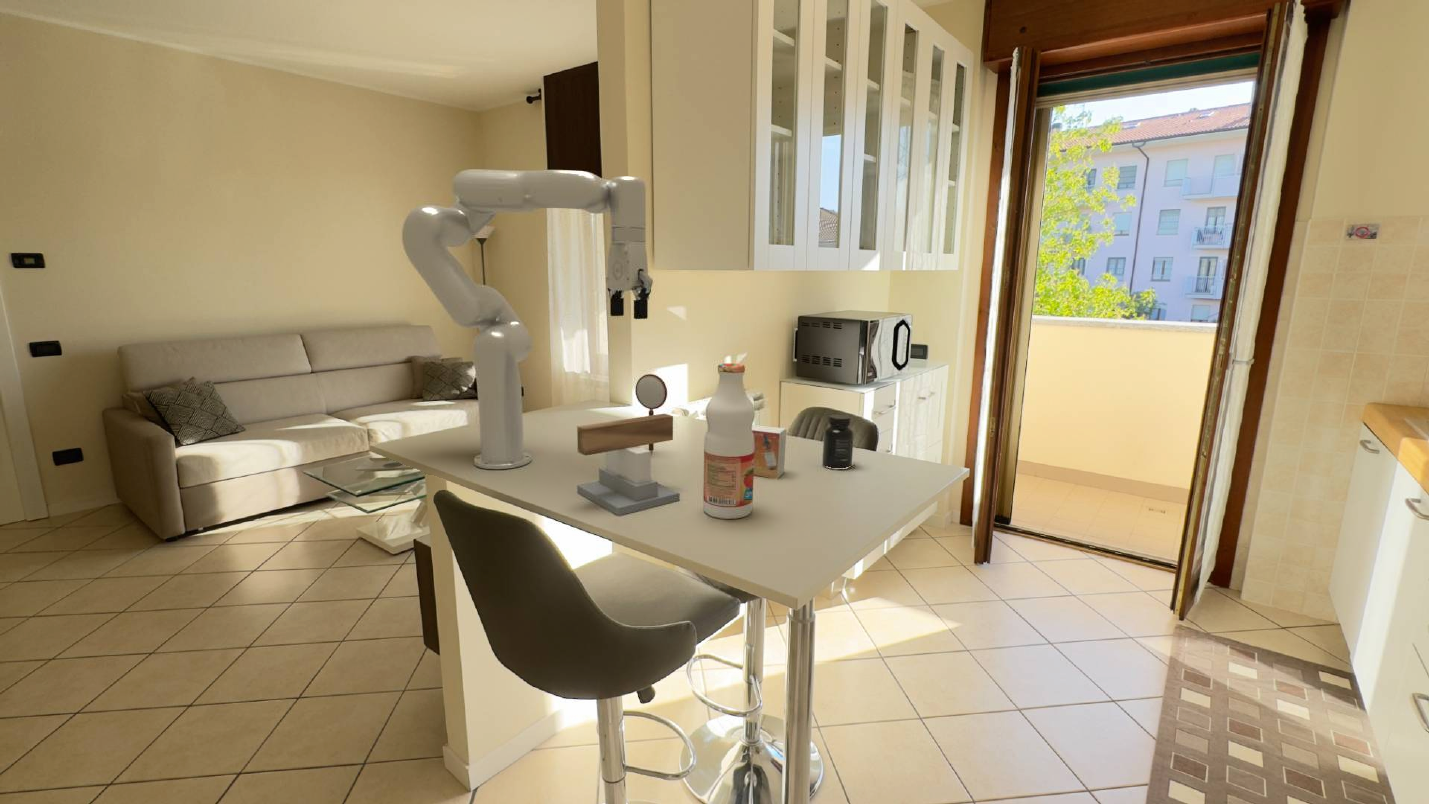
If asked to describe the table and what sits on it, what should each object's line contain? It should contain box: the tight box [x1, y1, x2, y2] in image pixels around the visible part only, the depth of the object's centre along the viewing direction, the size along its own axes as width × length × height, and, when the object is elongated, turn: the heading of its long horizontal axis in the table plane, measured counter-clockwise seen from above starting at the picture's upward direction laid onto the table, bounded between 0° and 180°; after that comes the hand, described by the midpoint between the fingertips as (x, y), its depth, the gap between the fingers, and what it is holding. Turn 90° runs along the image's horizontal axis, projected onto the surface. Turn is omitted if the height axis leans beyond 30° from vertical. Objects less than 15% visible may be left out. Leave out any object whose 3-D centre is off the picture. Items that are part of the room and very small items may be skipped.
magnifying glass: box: [635, 373, 668, 455], centre depth 158 cm, size 9×2×20 cm, turn 66°
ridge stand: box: [576, 446, 681, 517], centre depth 128 cm, size 16×14×10 cm
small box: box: [752, 424, 787, 479], centre depth 145 cm, size 8×6×10 cm
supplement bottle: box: [821, 414, 855, 468], centre depth 152 cm, size 7×7×12 cm
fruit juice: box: [702, 362, 756, 520], centre depth 120 cm, size 9×9×28 cm
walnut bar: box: [576, 413, 674, 457], centre depth 127 cm, size 3×20×5 cm, turn 129°
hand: (628, 317), depth 142 cm, fingers open, 9 cm apart
